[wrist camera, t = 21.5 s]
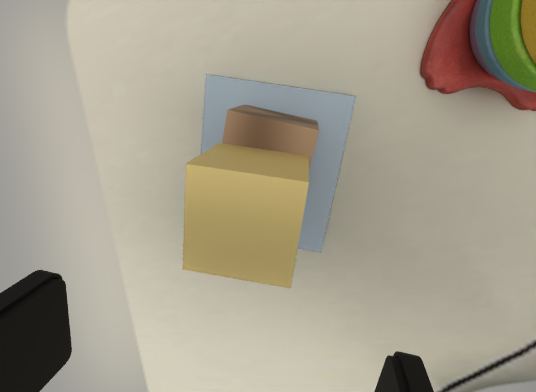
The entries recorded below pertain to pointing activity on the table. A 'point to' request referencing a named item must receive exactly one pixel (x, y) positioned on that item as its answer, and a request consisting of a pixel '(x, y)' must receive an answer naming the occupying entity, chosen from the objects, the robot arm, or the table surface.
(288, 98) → the base board
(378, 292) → the table surface
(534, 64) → the stacking bear
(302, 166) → the cube brick
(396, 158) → the table surface
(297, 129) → the long brick
